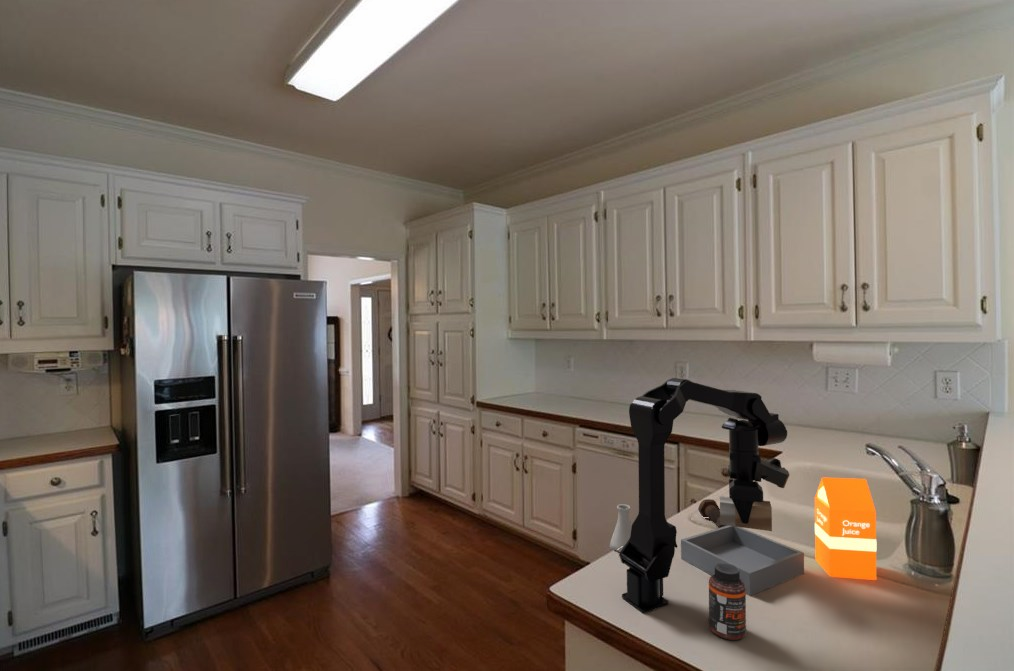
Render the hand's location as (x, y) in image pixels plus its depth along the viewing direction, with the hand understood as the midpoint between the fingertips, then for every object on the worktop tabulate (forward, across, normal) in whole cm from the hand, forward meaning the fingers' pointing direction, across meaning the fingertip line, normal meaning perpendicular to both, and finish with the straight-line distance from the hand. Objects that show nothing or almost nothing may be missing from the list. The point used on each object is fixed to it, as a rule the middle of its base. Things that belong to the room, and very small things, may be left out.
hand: (744, 519), depth 107 cm
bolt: (+12, +22, +5) cm, 25 cm away
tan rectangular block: (+1, 0, 0) cm, 1 cm away
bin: (+11, +1, +1) cm, 11 cm away
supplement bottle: (+11, -25, +4) cm, 27 cm away
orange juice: (+11, +8, -20) cm, 24 cm away
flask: (+11, +2, +27) cm, 29 cm away
